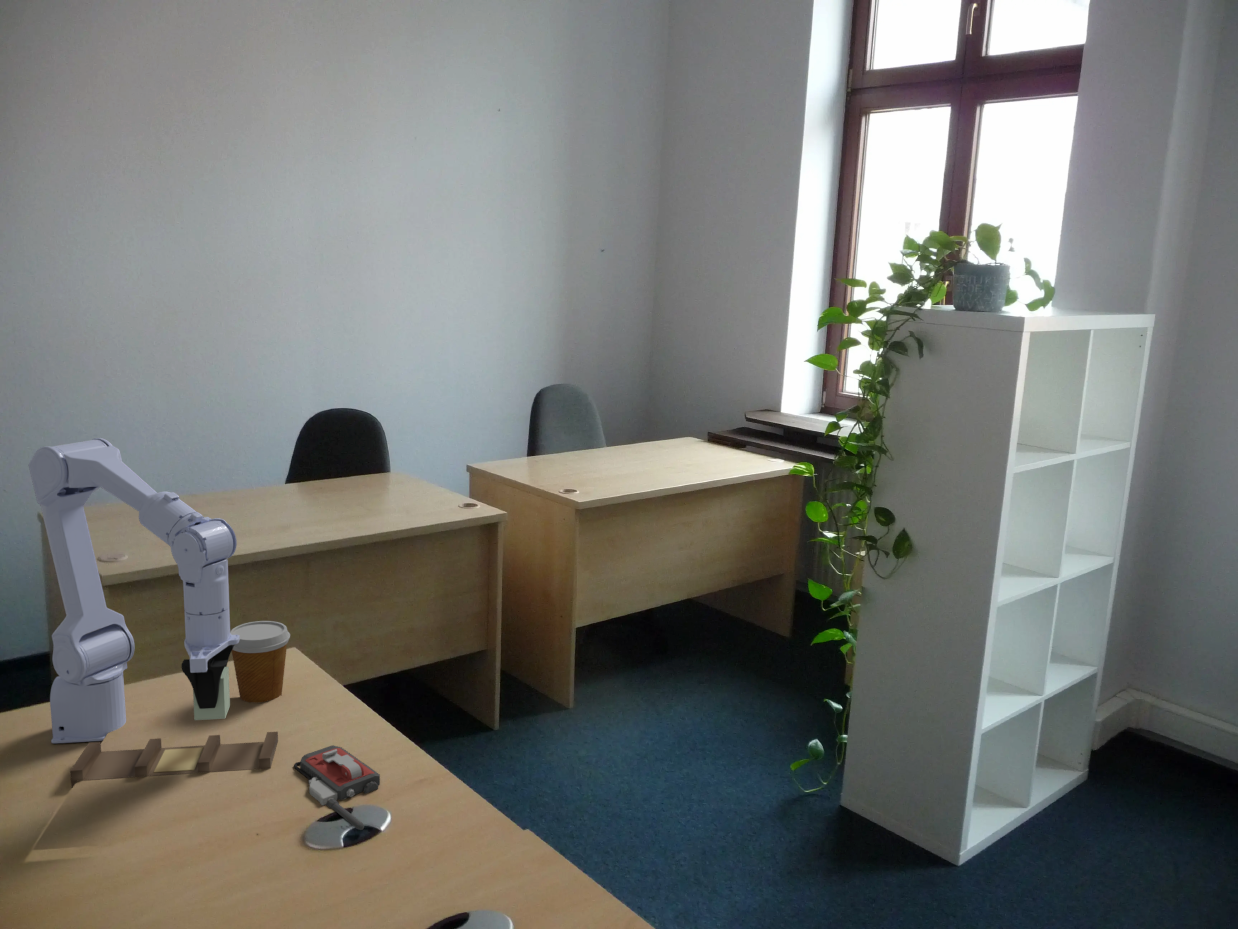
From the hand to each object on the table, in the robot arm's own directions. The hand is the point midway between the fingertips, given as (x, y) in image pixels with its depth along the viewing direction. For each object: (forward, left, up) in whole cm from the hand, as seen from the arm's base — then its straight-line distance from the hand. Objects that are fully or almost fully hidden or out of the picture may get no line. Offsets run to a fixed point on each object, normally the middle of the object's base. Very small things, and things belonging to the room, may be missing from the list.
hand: (210, 700), depth 136 cm
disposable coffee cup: (+4, +21, -10) cm, 23 cm away
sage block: (0, 0, -2) cm, 2 cm away
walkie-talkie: (+19, -11, -10) cm, 24 cm away
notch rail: (-4, 0, -10) cm, 11 cm away
